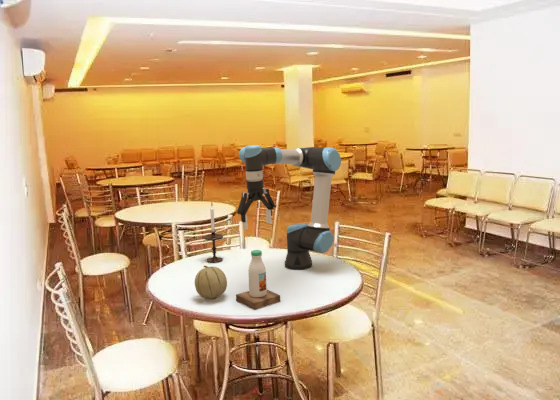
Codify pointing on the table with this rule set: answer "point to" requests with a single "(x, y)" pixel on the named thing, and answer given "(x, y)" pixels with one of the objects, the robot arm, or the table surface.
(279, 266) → the table surface
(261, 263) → the milk bottle
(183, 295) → the table surface
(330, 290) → the table surface
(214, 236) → the candlestick
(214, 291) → the cantaloupe
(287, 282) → the table surface
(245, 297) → the block
